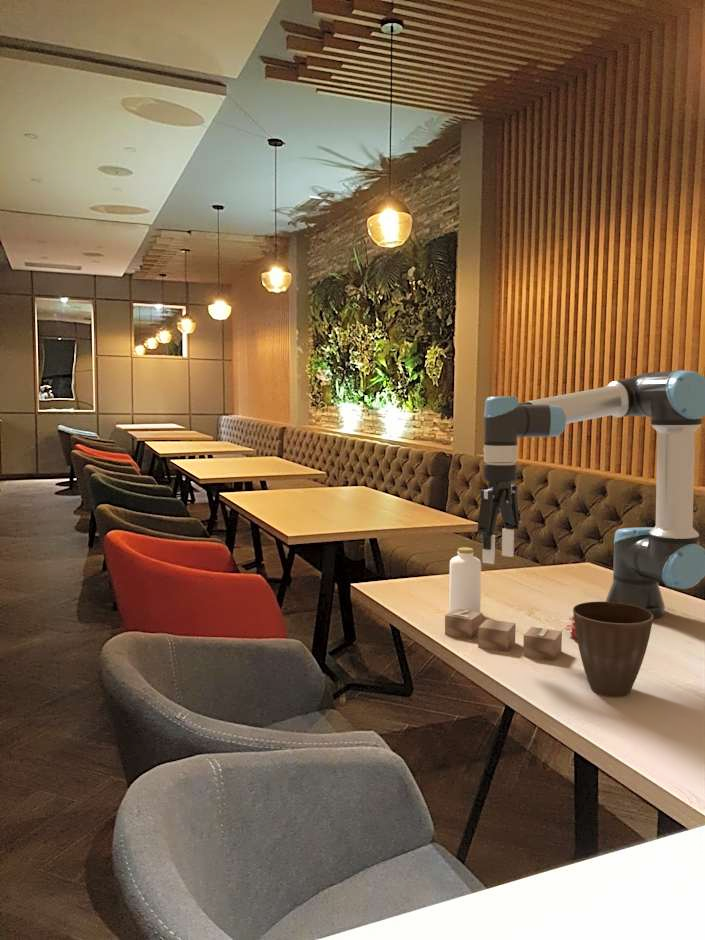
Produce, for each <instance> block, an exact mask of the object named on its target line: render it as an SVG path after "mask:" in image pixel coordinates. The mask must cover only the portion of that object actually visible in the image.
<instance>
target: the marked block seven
mask: <svg viewBox="0 0 705 940" xmlns="http://www.w3.org/2000/svg"><path fill="white" fill-rule="evenodd" d="M482 623H483V612H481V611H480V612H476V611H470V610H463V609H457V608H456V609H455V610H453V611H451V612H448V613H447V614H445V615H444V635H446V636H450V637H456V638H457V637H458V638H462V639H468V640H473V639H474V638H475V637H477V636H478V627H479V626H480V625H481V624H482Z"/></svg>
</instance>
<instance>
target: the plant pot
mask: <svg viewBox="0 0 705 940" xmlns="http://www.w3.org/2000/svg"><path fill="white" fill-rule="evenodd" d="M572 612H573V614H574V622H575V629H576V636H577V638H576V639H577V640H576V641H577V646H578V651H579V654H580V655H579V656H580V659H581V662H582V667H583V670H584V673H585V676H586V679H587V682H588V684H589V687H590V689H591V690H592V691H593V692H594V693H597V694H599V695H601V696H604V697H611V698H620V697H626V696H627V695H629V694H630V693H631V690H632V689H633V687H634V684H635V681H636V680H637V677H638V675H639V672H640V669H641V667H642V664H643V661H644V658H645V655H646V651H647V647H648V645H649V640H650V636H651V632H652V627H653V626H652V625H653V621H654V618H653V614H652V613H651V612H650V611H648V610H646V609H644V608H641V607H638V606H634V605H630V604H624V603H617V602H606V601H588V602H582V603H578V604H576V605H574V607H573V609H572ZM576 636H575V637H576Z"/></svg>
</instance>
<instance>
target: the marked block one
mask: <svg viewBox="0 0 705 940" xmlns="http://www.w3.org/2000/svg"><path fill="white" fill-rule="evenodd" d="M562 635H563V631H562V630H558V629H557V630H556V629H549V628H544V627H543V628H541V627H535V626H530V628H529V629H528V630H527V631H526V632H525V633H524V634H523V646H522V647H523V649H522V653H523V655H522V656H523V657H526V658H534V659H539V660H545V661H552V662H555V661H556V660H557V659H558V657H559V656H560V654H561V653H562V644H563V643H562V642H563V641H562V640H563V639H562V638H563V636H562Z"/></svg>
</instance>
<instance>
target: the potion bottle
mask: <svg viewBox="0 0 705 940" xmlns="http://www.w3.org/2000/svg"><path fill="white" fill-rule="evenodd" d="M456 553H457V555H456V556H453V557H452V558H451V559H450V560H449V584H448V585H449V587H448V588H449V589H448V591H449V593H448V595H449V596H448V597H449V599H448V601H449V602H448V603H449V604H448V605H449V606H448V611H449V612H448V613H450V612H451V611H453V610H455V609H456V608H457V609H463V610H470V611H476V612H481V602H482V601H481V598H482V597H481V595H482V592H481V591H482V589H481V587H482V585H481V584H482V562H481V561H482V560H480V559H479V558H478V557H476V556H474V548H473V547H472V548H471V547H466V546H465V547H457V552H456Z"/></svg>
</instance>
